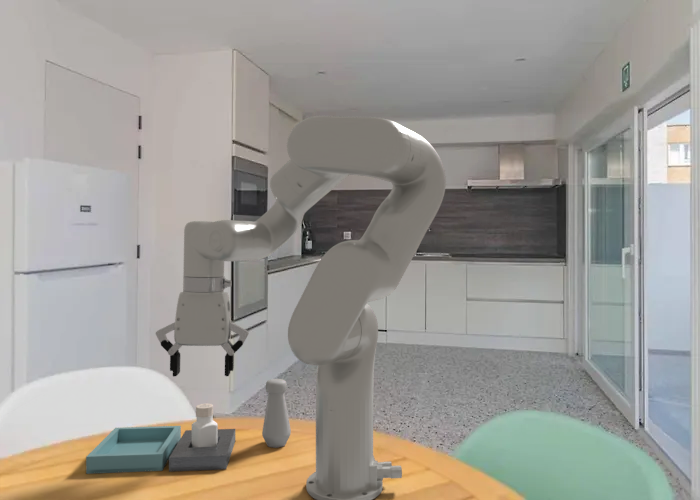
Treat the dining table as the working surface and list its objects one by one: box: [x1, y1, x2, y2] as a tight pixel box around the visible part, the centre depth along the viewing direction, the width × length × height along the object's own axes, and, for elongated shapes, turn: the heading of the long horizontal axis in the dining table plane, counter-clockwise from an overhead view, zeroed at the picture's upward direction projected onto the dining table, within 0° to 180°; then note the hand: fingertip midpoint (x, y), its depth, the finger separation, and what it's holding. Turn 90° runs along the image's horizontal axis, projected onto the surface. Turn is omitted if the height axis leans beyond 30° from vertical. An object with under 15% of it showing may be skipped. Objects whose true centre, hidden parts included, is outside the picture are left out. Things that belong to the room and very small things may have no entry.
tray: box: [85, 425, 182, 475], centre depth 101 cm, size 13×15×3 cm
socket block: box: [168, 428, 236, 473], centre depth 102 cm, size 10×14×2 cm
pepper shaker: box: [191, 403, 219, 448], centre depth 102 cm, size 4×4×10 cm
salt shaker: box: [261, 378, 291, 449], centre depth 107 cm, size 6×6×13 cm
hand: (202, 374), depth 102 cm, fingers open, 9 cm apart
